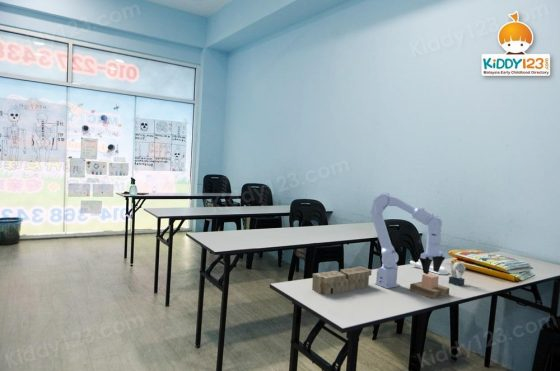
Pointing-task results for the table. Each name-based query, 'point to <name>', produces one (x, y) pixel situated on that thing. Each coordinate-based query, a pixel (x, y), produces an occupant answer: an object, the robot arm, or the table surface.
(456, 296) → the table surface
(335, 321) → the table surface
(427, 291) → the base block
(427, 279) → the cube
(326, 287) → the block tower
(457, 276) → the watch
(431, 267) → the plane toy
